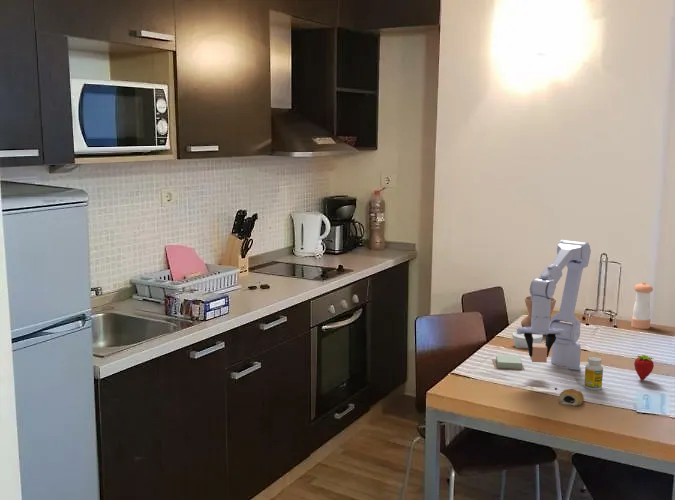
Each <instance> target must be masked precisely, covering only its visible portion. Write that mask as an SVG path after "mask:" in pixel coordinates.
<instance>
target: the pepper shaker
mask: <svg viewBox="0 0 675 500" xmlns="http://www.w3.org/2000/svg"><path fill="white" fill-rule="evenodd" d="M634 290H635V301H634V305H633V308H632V317H631V324H630V326H631V327H632V328H636V329H639V330H647V329H650V328H651V317H650V316H651V303H650V302H651V301H650V300H651V293H652V292H653V290H654V289H653V287H652V285H650V284H648V283H647V282H645V281H642V282H641V283H637V284H635V286H634Z"/></svg>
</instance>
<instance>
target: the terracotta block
mask: <svg viewBox="0 0 675 500" xmlns="http://www.w3.org/2000/svg"><path fill="white" fill-rule="evenodd" d="M529 358H530V360H531V362H532V363H543V364H545V363H547V362H548V361H547V360H548V359H547V358H548V357H547V346H546V343H542V342H541V343H533V345H532V356H529Z"/></svg>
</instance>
